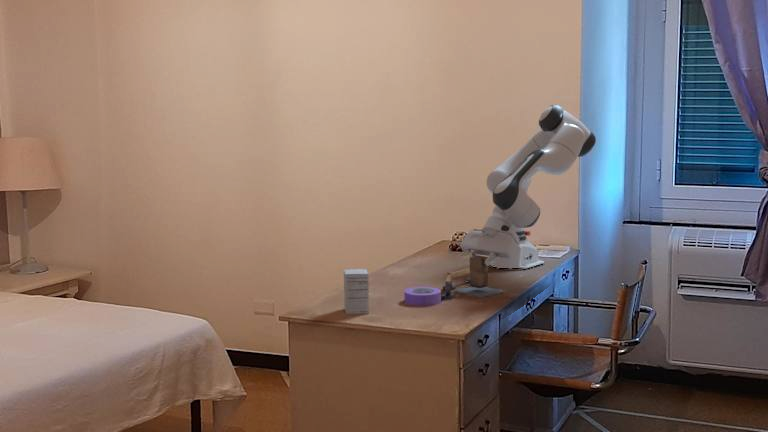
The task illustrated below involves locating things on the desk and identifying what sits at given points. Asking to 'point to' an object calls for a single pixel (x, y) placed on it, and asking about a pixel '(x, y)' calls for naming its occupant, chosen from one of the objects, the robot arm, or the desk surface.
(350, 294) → the supplement box
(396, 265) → the desk surface
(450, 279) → the hinged wooden linkage
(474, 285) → the tan stacked post
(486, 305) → the desk surface
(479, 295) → the slate pad
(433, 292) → the masking tape
